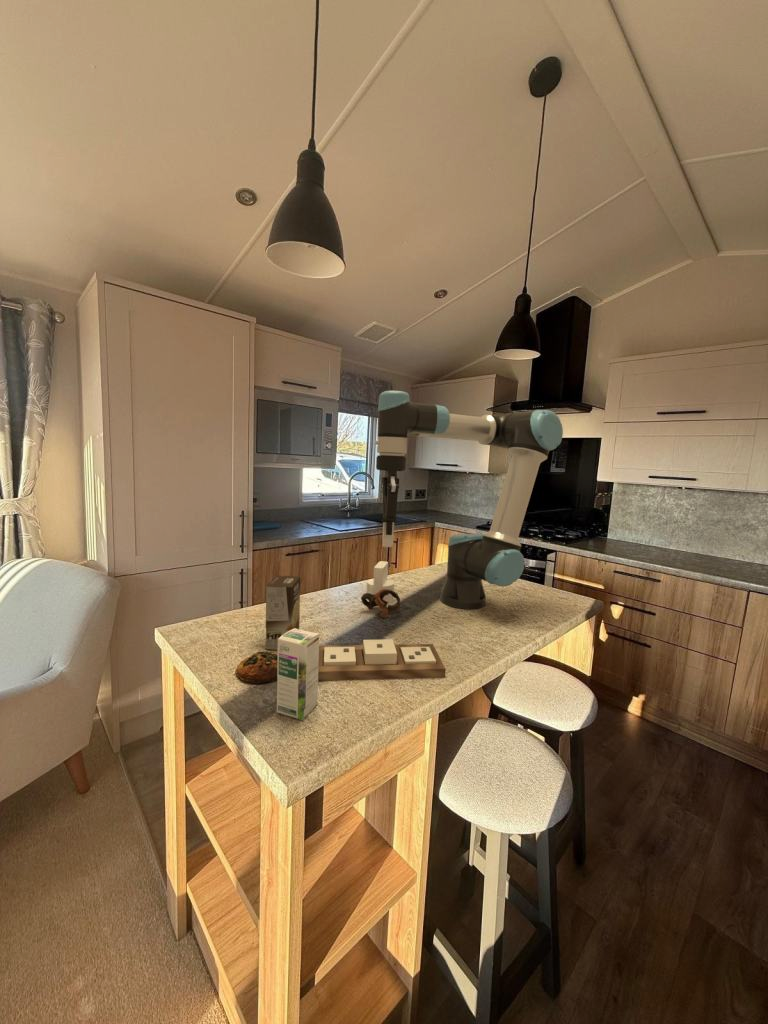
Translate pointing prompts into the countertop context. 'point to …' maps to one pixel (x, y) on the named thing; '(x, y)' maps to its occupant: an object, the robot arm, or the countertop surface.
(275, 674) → the bread roll
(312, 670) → the syrup box
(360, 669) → the board
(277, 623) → the coffee box
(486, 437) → the robot arm
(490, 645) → the countertop surface
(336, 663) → the tile two
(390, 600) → the base with upright slab
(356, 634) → the countertop surface
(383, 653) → the tile one
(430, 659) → the tile three
